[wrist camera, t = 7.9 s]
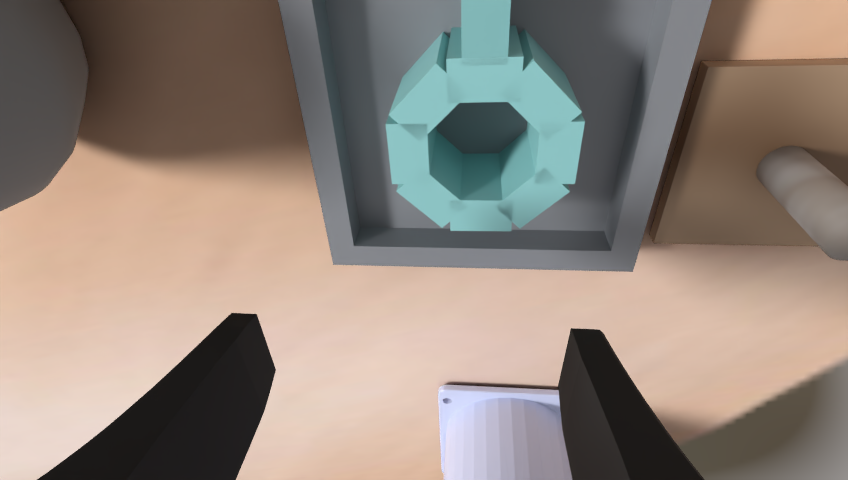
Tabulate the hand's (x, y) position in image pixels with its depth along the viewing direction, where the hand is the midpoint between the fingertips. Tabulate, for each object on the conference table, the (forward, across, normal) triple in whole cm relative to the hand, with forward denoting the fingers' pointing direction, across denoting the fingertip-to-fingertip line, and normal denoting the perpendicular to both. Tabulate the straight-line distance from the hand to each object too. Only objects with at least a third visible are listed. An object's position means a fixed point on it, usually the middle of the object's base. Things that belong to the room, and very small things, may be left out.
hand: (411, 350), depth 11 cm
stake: (+9, -12, 0) cm, 15 cm away
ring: (+9, -2, -2) cm, 9 cm away
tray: (+9, -2, -2) cm, 10 cm away
